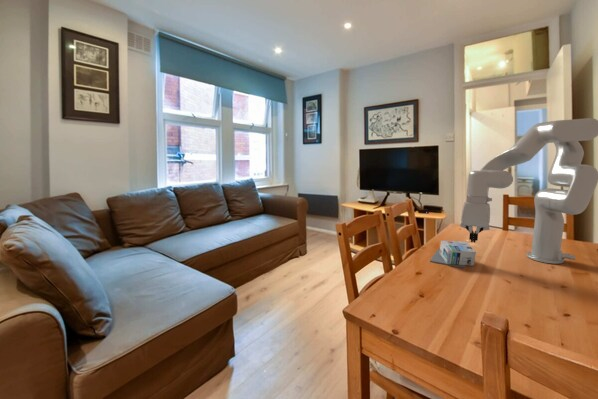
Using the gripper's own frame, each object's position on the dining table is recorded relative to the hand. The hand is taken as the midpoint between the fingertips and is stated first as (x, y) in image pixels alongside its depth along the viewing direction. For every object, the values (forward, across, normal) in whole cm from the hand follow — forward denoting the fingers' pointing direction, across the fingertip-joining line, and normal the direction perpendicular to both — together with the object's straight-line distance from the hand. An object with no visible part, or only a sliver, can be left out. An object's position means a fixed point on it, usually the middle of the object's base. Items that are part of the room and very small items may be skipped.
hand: (473, 241), depth 119 cm
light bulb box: (+5, 0, +1) cm, 5 cm away
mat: (+9, +8, 0) cm, 13 cm away
